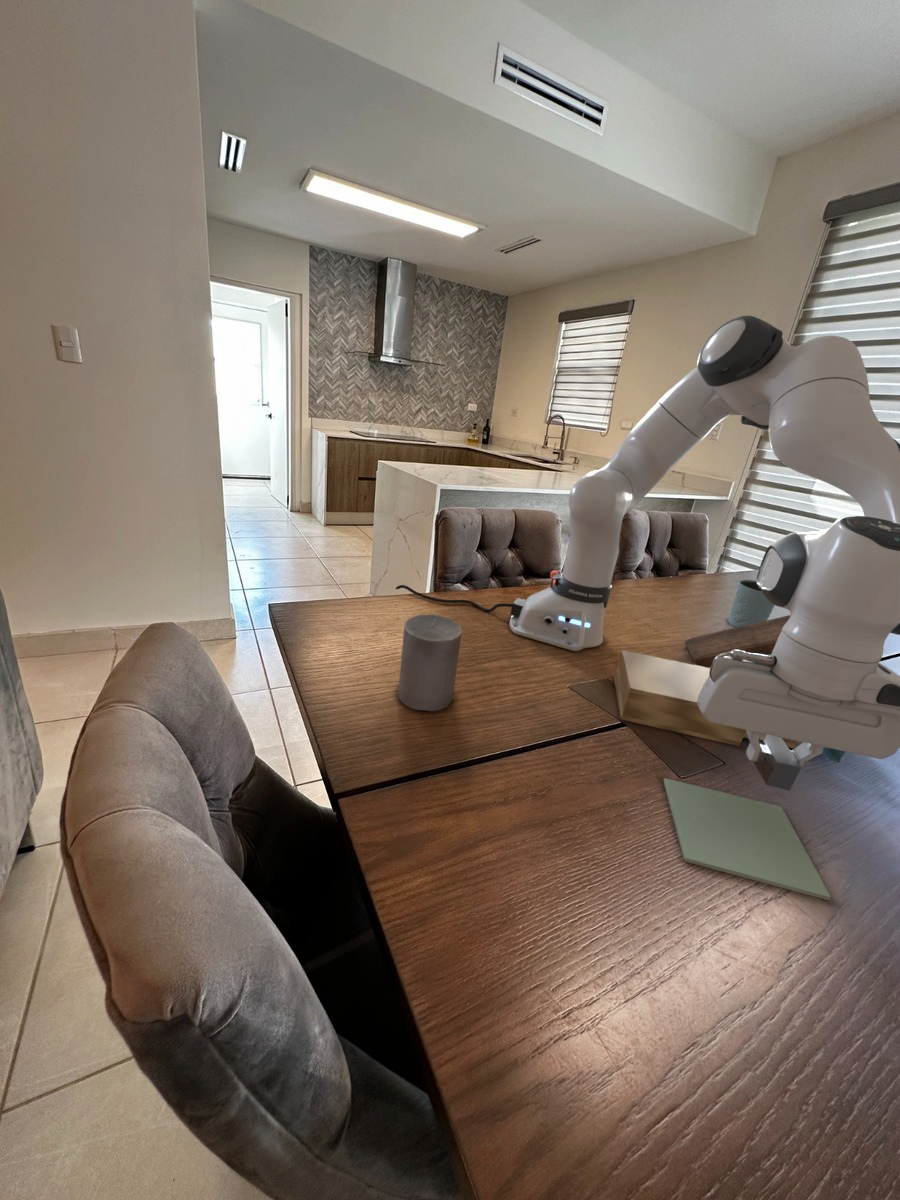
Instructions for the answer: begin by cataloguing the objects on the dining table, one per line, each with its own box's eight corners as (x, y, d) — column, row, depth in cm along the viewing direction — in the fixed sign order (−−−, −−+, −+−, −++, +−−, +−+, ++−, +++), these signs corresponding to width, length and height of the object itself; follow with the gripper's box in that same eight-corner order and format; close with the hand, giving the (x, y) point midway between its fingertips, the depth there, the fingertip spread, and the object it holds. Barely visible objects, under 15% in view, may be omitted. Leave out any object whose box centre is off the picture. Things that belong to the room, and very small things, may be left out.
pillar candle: (427, 675, 89) (435, 603, 83) (464, 700, 83) (475, 624, 77) (386, 692, 83) (392, 614, 77) (422, 720, 76) (432, 638, 71)
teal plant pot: (765, 625, 134) (781, 586, 129) (765, 637, 126) (782, 596, 121) (725, 614, 138) (740, 576, 134) (723, 625, 130) (738, 585, 126)
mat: (684, 861, 57) (685, 858, 57) (663, 780, 70) (664, 777, 70) (829, 901, 54) (831, 897, 54) (780, 809, 67) (781, 806, 67)
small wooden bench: (709, 716, 108) (864, 688, 98) (694, 658, 103) (855, 623, 94) (697, 692, 117) (837, 664, 108) (683, 638, 113) (828, 604, 103)
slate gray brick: (765, 785, 56) (777, 762, 54) (748, 752, 61) (757, 730, 60) (789, 791, 55) (801, 767, 54) (769, 757, 61) (780, 735, 59)
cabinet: (715, 699, 93) (726, 671, 91) (739, 746, 80) (753, 714, 77) (613, 678, 96) (621, 649, 94) (620, 719, 83) (630, 688, 81)
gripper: (727, 659, 51) (688, 759, 56) (942, 701, 48) (879, 803, 53) (711, 634, 57) (677, 727, 62) (901, 670, 53) (848, 765, 59)
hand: (771, 762), depth 58 cm, fingers closed on slate gray brick, 2 cm apart
